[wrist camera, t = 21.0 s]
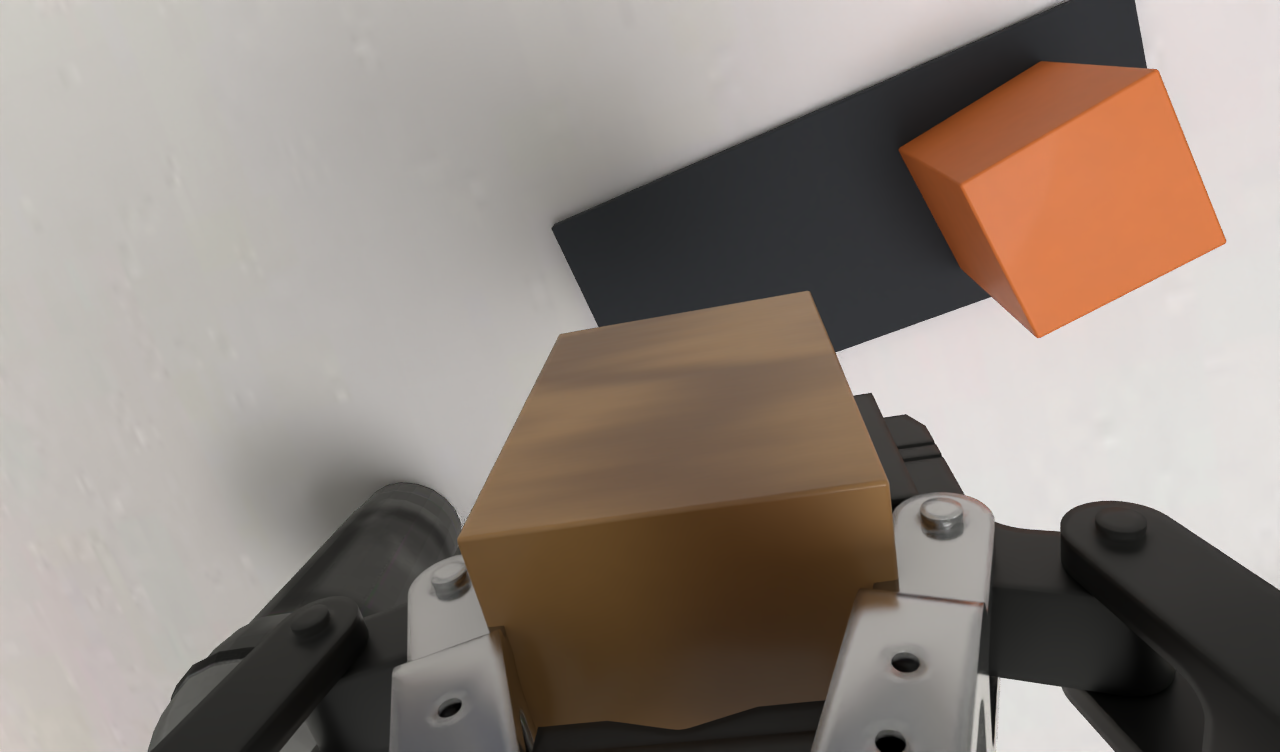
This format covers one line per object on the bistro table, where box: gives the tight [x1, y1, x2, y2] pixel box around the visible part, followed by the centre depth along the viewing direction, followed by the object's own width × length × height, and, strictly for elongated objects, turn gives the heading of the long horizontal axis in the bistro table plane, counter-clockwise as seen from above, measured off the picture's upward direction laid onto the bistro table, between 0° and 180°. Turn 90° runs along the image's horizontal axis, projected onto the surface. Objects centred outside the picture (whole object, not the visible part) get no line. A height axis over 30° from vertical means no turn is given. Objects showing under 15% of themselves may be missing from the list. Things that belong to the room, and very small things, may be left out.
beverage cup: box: [148, 483, 461, 752], centre depth 25 cm, size 7×7×20 cm
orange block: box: [899, 61, 1226, 338], centre depth 23 cm, size 5×5×7 cm
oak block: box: [457, 291, 899, 730], centre depth 13 cm, size 5×5×7 cm
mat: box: [552, 0, 1147, 352], centre depth 27 cm, size 20×8×1 cm, turn 114°
